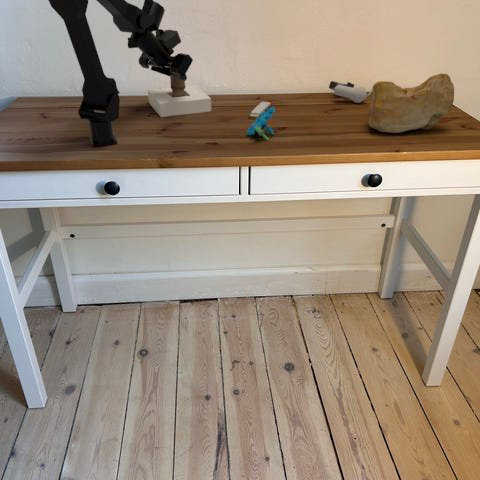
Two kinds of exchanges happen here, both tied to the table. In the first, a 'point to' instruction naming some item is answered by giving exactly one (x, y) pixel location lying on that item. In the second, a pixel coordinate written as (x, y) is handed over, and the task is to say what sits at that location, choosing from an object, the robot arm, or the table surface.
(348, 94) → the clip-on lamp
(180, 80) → the walnut peg
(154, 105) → the white board
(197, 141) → the table surface
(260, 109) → the harmonica
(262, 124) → the gear
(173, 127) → the table surface
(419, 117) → the rough brown rock
